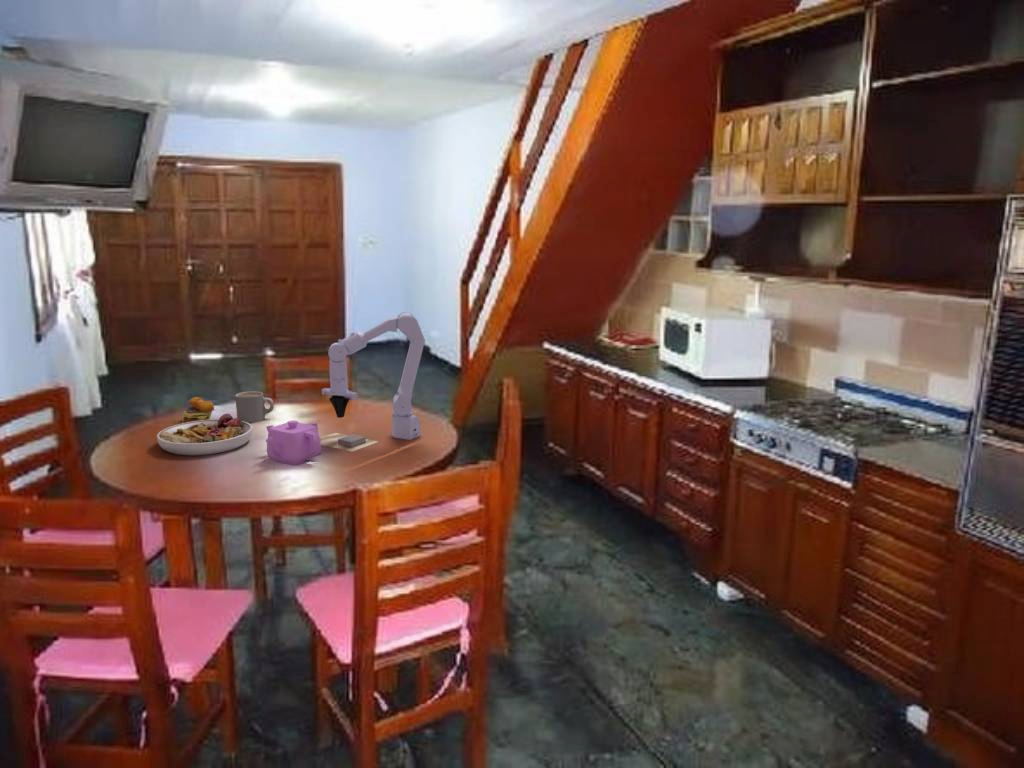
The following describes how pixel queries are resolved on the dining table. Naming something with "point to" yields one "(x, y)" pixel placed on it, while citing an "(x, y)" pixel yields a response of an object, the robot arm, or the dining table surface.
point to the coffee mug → (252, 406)
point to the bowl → (205, 436)
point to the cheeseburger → (198, 410)
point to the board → (333, 442)
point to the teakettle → (293, 442)
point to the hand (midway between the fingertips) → (340, 417)
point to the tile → (351, 440)
